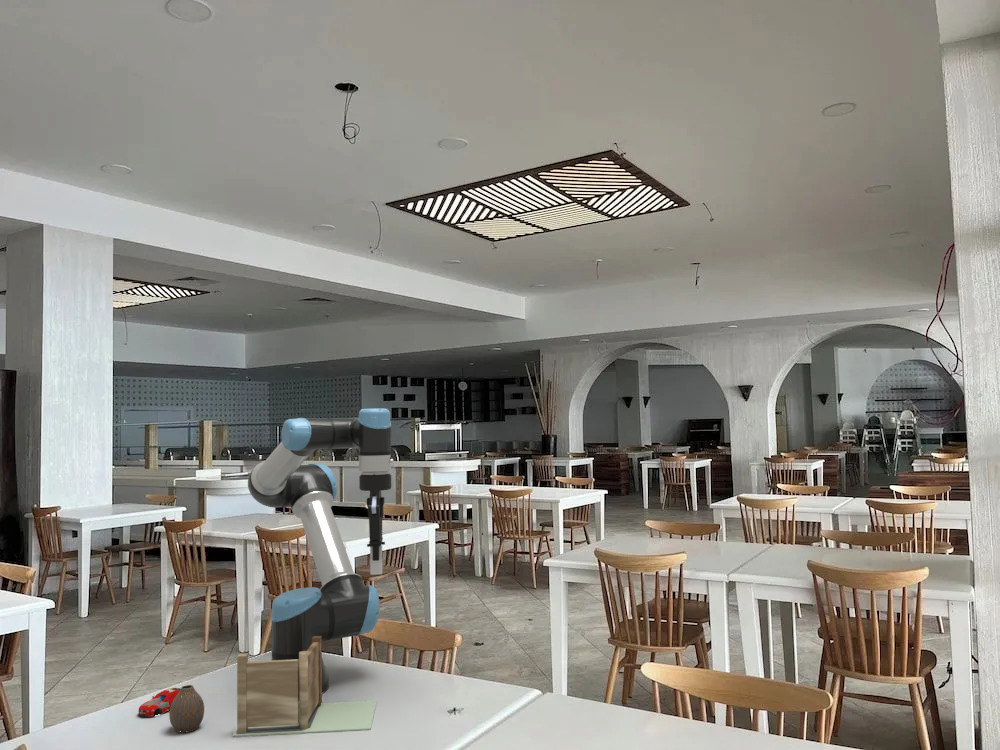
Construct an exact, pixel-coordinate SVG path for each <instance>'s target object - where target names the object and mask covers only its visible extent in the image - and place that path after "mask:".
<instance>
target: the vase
mask: <svg viewBox="0 0 1000 750" xmlns="http://www.w3.org/2000/svg"><path fill="white" fill-rule="evenodd" d="M180 688H181V689H180V691H179V693H178V694H177V696H176V697H175V698H174V700H173V702H172V704H171V707H170V711H168V712H169V713H168V716H169V722H170V725H171V727H172V728H173V729H174V730H175V731H176V732H177V731H181V732H180V733H187V732H186V731H190V732H193V731H194V729H195V730H196V729H198V728H199V726H200V725H201V724H202V722H203V719H204V716H205V704H204V700H203V697H202V696H201V695H200V693H198V692H197V691H196V689H195V687H194V685H193V684H185V685H182V686H181V687H180ZM192 730H193V731H192Z"/></svg>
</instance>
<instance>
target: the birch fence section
mask: <svg viewBox="0 0 1000 750" xmlns="http://www.w3.org/2000/svg"><path fill="white" fill-rule="evenodd" d="M236 659H237V660H236V662H237V663H236V664H237V665H236V669H237V671H236V677H237V678H236V681H237V683H236V686H237V687H236V692H237V693H236V695H237V696H236V698H237V699H236V702H237V703H236V710H237V712H236V723H237V724H236V726H237V727H236V728H237V729H236V730H237V733H244V732H247V730H248V727H264V726H283V725H298V724H299V729H303V730H306V729H308V651H301V652H299V659H294V660H272V659H271V660H272V661H271V660H253V661H252V660H251V661H249V653H248V652H247V653H238V655H237V657H236Z"/></svg>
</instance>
